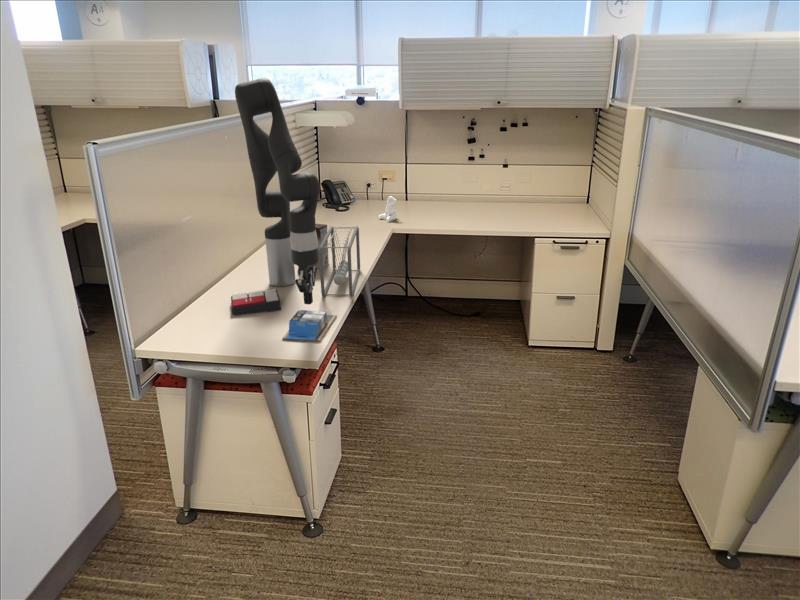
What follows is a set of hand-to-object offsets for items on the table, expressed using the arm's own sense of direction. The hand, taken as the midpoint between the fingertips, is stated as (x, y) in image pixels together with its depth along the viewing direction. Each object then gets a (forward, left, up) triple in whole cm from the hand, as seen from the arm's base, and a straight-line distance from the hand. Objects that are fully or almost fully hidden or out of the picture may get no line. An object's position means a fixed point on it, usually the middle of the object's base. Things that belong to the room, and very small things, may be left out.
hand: (308, 303), depth 167 cm
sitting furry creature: (-136, 0, -8) cm, 136 cm away
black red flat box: (-14, -23, -9) cm, 28 cm away
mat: (-1, 0, -8) cm, 8 cm away
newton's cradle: (-40, 0, -8) cm, 40 cm away
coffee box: (-59, -16, -8) cm, 61 cm away
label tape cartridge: (-4, 0, -6) cm, 7 cm away
